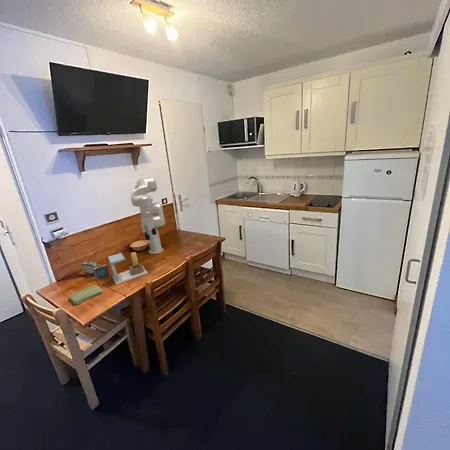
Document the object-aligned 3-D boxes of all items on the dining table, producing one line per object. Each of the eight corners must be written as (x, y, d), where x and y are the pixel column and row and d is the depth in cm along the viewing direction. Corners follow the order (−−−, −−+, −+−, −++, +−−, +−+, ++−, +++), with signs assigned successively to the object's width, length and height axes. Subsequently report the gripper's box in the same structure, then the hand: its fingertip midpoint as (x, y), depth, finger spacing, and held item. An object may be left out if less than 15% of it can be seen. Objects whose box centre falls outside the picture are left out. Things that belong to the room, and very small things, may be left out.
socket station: (112, 276, 181) (107, 256, 176) (142, 266, 191) (138, 247, 186) (115, 284, 169) (110, 263, 164) (147, 273, 180) (143, 253, 175)
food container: (103, 272, 189) (99, 260, 186) (96, 276, 184) (93, 264, 181) (90, 271, 193) (87, 259, 190) (84, 275, 188) (80, 263, 185)
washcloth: (104, 292, 161) (103, 288, 160) (75, 306, 149) (73, 302, 148) (97, 286, 170) (95, 282, 169) (68, 299, 158) (67, 295, 157)
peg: (133, 267, 192) (130, 253, 189) (138, 265, 194) (135, 251, 191) (134, 268, 189) (131, 254, 186) (139, 267, 191) (136, 253, 188)
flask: (96, 280, 178) (92, 267, 175) (95, 279, 180) (91, 265, 177) (109, 276, 182) (106, 263, 179) (109, 274, 184) (105, 261, 181)
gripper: (147, 211, 182) (152, 233, 187) (135, 218, 166) (140, 241, 172) (157, 210, 180) (161, 232, 186) (145, 217, 164) (150, 241, 170)
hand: (151, 237), depth 179 cm, fingers open, 9 cm apart
